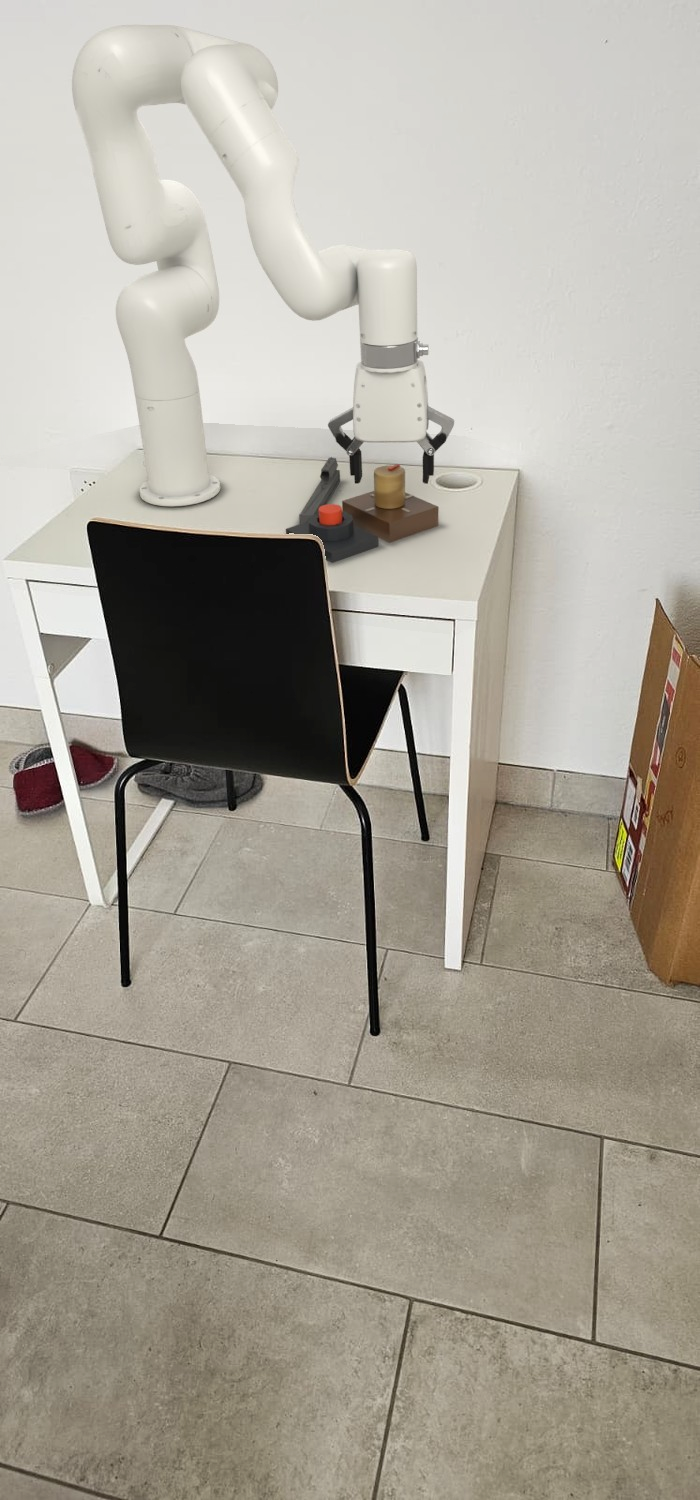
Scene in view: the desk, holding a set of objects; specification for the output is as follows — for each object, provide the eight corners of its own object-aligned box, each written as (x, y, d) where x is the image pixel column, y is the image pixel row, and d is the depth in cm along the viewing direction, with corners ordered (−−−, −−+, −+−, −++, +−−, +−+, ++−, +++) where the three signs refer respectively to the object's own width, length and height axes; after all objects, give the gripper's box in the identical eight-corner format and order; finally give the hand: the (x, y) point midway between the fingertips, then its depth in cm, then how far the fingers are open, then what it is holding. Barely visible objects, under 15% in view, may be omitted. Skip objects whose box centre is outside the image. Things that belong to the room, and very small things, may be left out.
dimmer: (342, 520, 149) (341, 499, 147) (390, 504, 153) (389, 484, 151) (389, 543, 142) (389, 521, 140) (438, 526, 146) (438, 505, 144)
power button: (314, 521, 141) (314, 508, 140) (333, 515, 142) (332, 502, 141) (328, 528, 139) (327, 514, 138) (347, 522, 140) (346, 508, 139)
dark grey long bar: (317, 530, 147) (315, 502, 144) (299, 529, 147) (297, 501, 145) (344, 482, 161) (343, 456, 159) (327, 482, 162) (326, 456, 159)
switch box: (286, 538, 144) (284, 515, 142) (331, 523, 148) (330, 500, 146) (332, 563, 137) (330, 539, 135) (378, 547, 141) (378, 523, 139)
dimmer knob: (393, 511, 143) (392, 476, 140) (368, 504, 145) (367, 470, 142) (411, 501, 146) (411, 466, 143) (386, 495, 148) (386, 461, 145)
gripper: (456, 346, 136) (454, 471, 145) (328, 348, 138) (335, 471, 148) (453, 360, 129) (452, 490, 139) (319, 362, 132) (327, 489, 142)
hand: (392, 480), depth 143 cm, fingers open, 9 cm apart
